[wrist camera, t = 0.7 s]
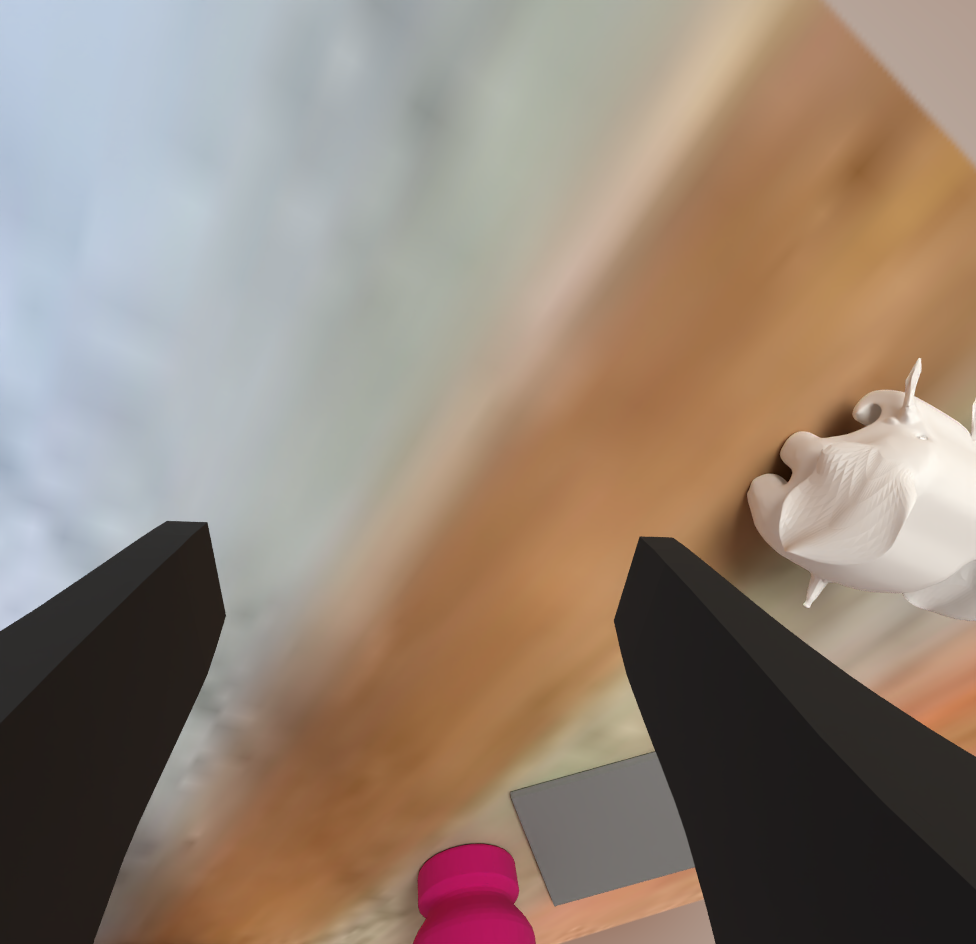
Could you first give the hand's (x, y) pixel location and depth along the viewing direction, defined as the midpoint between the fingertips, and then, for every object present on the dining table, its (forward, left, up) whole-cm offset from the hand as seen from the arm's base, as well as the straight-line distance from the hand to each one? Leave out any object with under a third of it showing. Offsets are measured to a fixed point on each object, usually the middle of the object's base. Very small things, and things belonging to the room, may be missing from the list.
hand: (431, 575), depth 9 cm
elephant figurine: (+15, -8, -11) cm, 20 cm away
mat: (+8, -32, -11) cm, 35 cm away
